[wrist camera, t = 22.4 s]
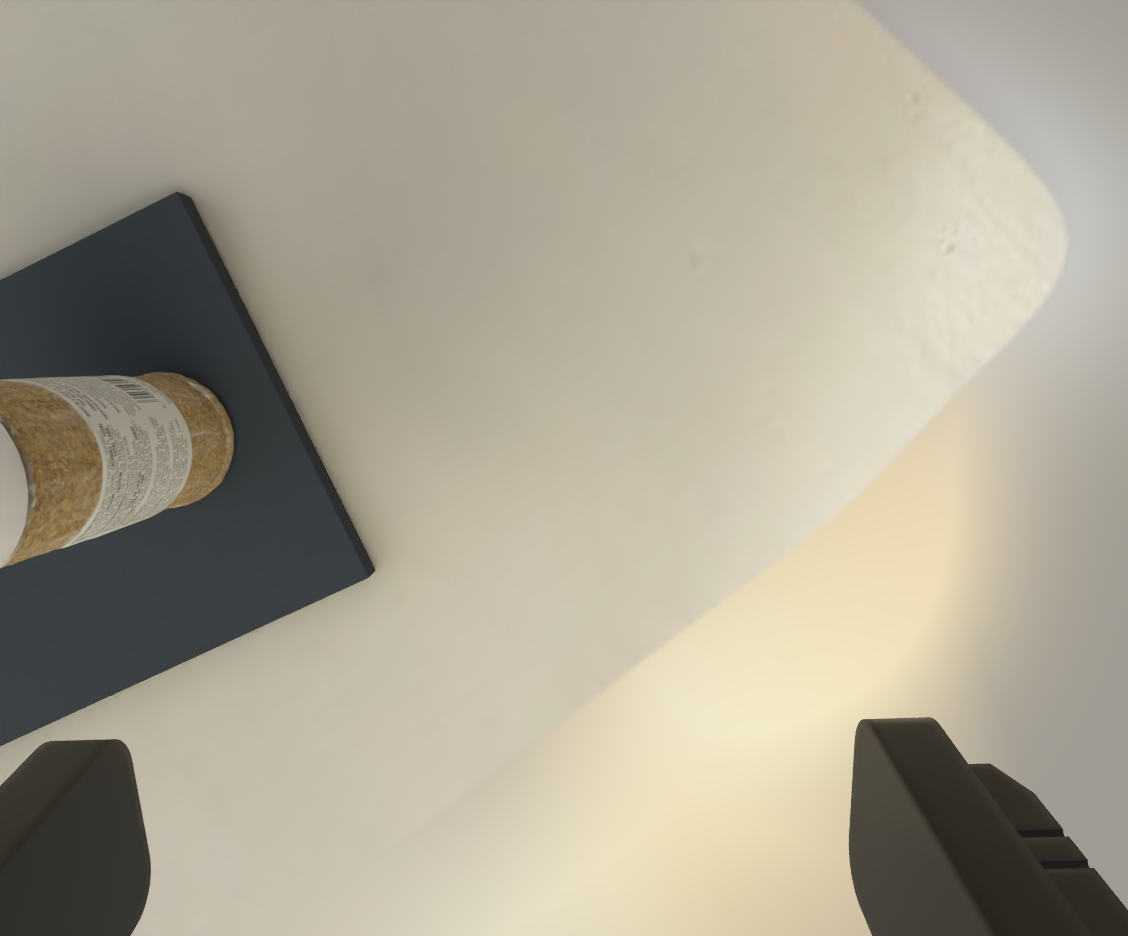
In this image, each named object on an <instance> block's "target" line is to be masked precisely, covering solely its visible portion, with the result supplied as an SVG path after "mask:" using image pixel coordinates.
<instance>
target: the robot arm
mask: <svg viewBox="0 0 1128 936" xmlns="http://www.w3.org/2000/svg"><path fill="white" fill-rule="evenodd" d="M854 746H855V747H854V762H853V780H852V796H851V813H850V830H849V857H850V867H851V874H852V879H853V884H854V888H855V893H856V896H857V899H858V902H859V905H860V908H861V910H862V912H863V915H864V917H865V919H866V922H867V924H868V927H869V929H870V931H871V934H872V936H1128V910H1127V909H1126V907H1125V906H1124V905H1123V904H1122V902H1121V901H1120V900H1119V899H1118V897H1117V896H1116V895H1115V894H1114V892H1113V891H1112V890H1111V889H1110V887H1109V886H1108V885H1107V884H1106V882H1105V881H1104V880H1103V879H1102V877H1101V876H1100V875H1099V874H1098V872H1097V871H1096V870H1095V869H1094V868H1089V866H1088V860H1087V859H1086V857H1085V856H1084V855H1083V854H1082V852H1081V851H1080V850H1079V849H1078V847H1077V846H1076V845H1075V844H1074V842H1073V841H1072V840H1071V839H1070V837H1065V836H1064V834H1063V829H1062V828H1061V826H1060V825H1059V824H1058V822H1057V821H1056V820H1055V819H1054V817H1053V816H1052V815H1051V814H1050V812H1049V811H1048V810H1047V809H1046V807H1045V806H1044V805H1043V804H1042V803H1041V801H1040V800H1039V799H1038V797H1037V796H1036V795H1035V794H1034V793H1033V792H1032V791H1030V790H1029V789H1027V788H1026V787H1024V786H1022V785H1021V784H1019V783H1018V782H1016V781H1015V780H1013V779H1012V778H1011V777H1009V776H1008V775H1006V774H1005V773H1003V772H1001V771H1000V770H999V769H997V768H996V767H994V766H993V765H991V764H968V763H967V762H966V760H965V759H964V758H963V756H962V755H961V753H960V752H959V751H958V749H957V748H956V747H955V745H954V744H953V742H952V741H951V740H950V738H949V737H948V736H947V734H946V733H945V731H944V730H943V729H942V727H941V726H940V725H939V723H938V722H937V721H936V720H935V719H933V718H930V717H926V718H895V719H894V718H893V719H863V720H861V721H860V722H859V724H858V726H857V729H856V735H855V745H854ZM150 876H151V862H150V854H149V849H148V844H147V838H146V833H145V827H144V822H143V817H142V811H141V806H140V800H139V795H138V789H137V784H136V779H135V773H134V768H133V762H132V758H131V754H130V752H129V749H128V748H127V746H126V745H125V744H124V743H123V742H122V741H120V740H116V739H111V740H77V741H50V742H46V743H44V744H42V745H41V746H39V747H38V748H37V749H36V750H35V751H34V752H33V753H32V754H31V755H30V756H29V757H28V758H27V759H26V760H25V761H24V762H23V763H22V764H21V765H20V766H19V767H18V768H17V769H16V771H15V772H14V773H13V774H12V775H11V776H10V777H9V778H8V779H7V780H6V781H5V782H4V783H3V784H2V785H1V786H0V936H130V935H131V934H132V932H133V930H134V929H135V927H136V925H137V923H138V922H139V920H140V918H141V915H142V913H143V910H144V907H145V904H146V901H147V897H148V892H149V886H150Z"/></svg>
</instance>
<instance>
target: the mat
mask: <svg viewBox="0 0 1128 936" xmlns="http://www.w3.org/2000/svg"><path fill="white" fill-rule="evenodd" d="M154 372H163V373H176V374H180V375H183V376H184V377H186V378H190V379H193V380H195V381H197V382H198V383H200V384H201V385H203V386H205V387H206V388H208V389H209V390H210V391H211V392H212V393H213V394H214V395H215V396H216V397H217V399H218V400H219V402H220V403H221V404H222V405H223V407H224V409H225V411H226V413H227V415H228V417H229V419H230V421H231V425H232V429H233V432H234V451H233V456H232V460H231V463H230V466H229V469H228V470H227V472H226V474H225V476H224V478H223V480H222V482H221V483H220V484H219V485H218V486H217V487H216V488H215V489H213V490H212V491H211V492H210V493H209V494H207V495H206V496H205V497H203V498H202V499H200V500H198V501H196V502H193V503H191V504H189V505H185V506H180V507H176V508H167V509H165V510H162V511H161V512H159V513H157V514H156V515H154V516H152V517H149V518H147V519H145V520H142V521H139V522H136V523H134V524H131V525H128V526H126V527H123V528H120V529H118V530H115V531H112V532H109V533H107V534H104V535H101V536H99V537H96V538H93V539H89V540H85V541H82V542H79V543H77V544H74V545H71V546H68V547H65V548H61V549H55V550H52V551H50V552H48V553H45V554H41V555H37V556H34V557H32V558H28V559H25V560H23V561H20V562H17V563H15V564H13V565H8V566H5V567H3V568H0V746H2V745H4V744H6V743H8V742H10V741H13V740H15V739H17V738H19V737H21V736H23V735H26V734H28V733H30V732H32V731H34V730H37V729H39V728H41V727H43V726H45V725H47V724H50V723H52V722H54V721H56V720H58V719H61V718H63V717H65V716H67V715H69V714H72V713H74V712H76V711H78V710H80V709H82V708H85V707H87V706H89V705H91V704H93V703H96V702H98V701H100V700H102V699H104V698H107V697H109V696H111V695H113V694H115V693H117V692H120V691H122V690H124V689H126V688H128V687H131V686H133V685H135V684H137V683H139V682H142V681H144V680H146V679H148V678H150V677H152V676H155V675H157V674H159V673H161V672H163V671H166V670H168V669H170V668H172V667H174V666H176V665H179V664H181V663H183V662H185V661H187V660H190V659H192V658H194V657H196V656H198V655H201V654H203V653H205V652H207V651H209V650H211V649H214V648H216V647H218V646H220V645H222V644H225V643H227V642H229V641H231V640H233V639H236V638H238V637H240V636H242V635H244V634H246V633H249V632H251V631H253V630H255V629H257V628H260V627H262V626H264V625H266V624H268V623H271V622H273V621H275V620H277V619H279V618H281V617H284V616H286V615H288V614H290V613H292V612H295V611H297V610H299V609H301V608H303V607H305V606H308V605H310V604H312V603H314V602H316V601H319V600H321V599H323V598H325V597H327V596H330V595H332V594H334V593H336V592H338V591H340V590H343V589H345V588H347V587H349V586H351V585H354V584H356V583H358V582H360V581H362V580H365V579H367V578H369V577H370V576H371V575H372V574H373V573H374V572H375V569H374V567H373V565H372V563H371V561H370V559H369V557H368V555H367V553H366V551H365V548H364V546H363V544H362V542H361V540H360V538H359V536H358V534H357V532H356V530H355V528H354V526H353V524H352V522H351V520H350V518H349V516H348V514H347V512H346V510H345V508H344V506H343V504H342V502H341V500H340V498H339V496H338V494H337V492H336V490H335V488H334V486H333V484H332V482H331V480H330V478H329V476H328V474H327V472H326V470H325V468H324V466H323V464H322V462H321V460H320V458H319V456H318V454H317V452H316V450H315V448H314V446H313V444H312V442H311V440H310V438H309V436H308V434H307V431H306V429H305V427H304V425H303V423H302V421H301V419H300V417H299V415H298V413H297V411H296V409H295V407H294V405H293V403H292V401H291V399H290V397H289V395H288V393H287V391H286V389H285V387H284V385H283V383H282V381H281V379H280V377H279V375H278V373H277V371H276V369H275V367H274V365H273V363H272V361H271V359H270V357H269V355H268V353H267V351H266V349H265V347H264V345H263V343H262V341H261V339H260V337H259V335H258V333H257V331H256V329H255V327H254V325H253V323H252V321H251V319H250V316H249V314H248V312H247V310H246V308H245V306H244V304H243V302H242V300H241V298H240V296H239V294H238V292H237V290H236V288H235V286H234V284H233V282H232V280H231V278H230V276H229V274H228V272H227V270H226V268H225V266H224V264H223V262H222V260H221V258H220V256H219V254H218V252H217V250H216V248H215V246H214V244H213V242H212V240H211V238H210V236H209V234H208V232H207V230H206V228H205V226H204V224H203V222H202V220H201V218H200V216H199V214H198V212H197V210H196V208H195V206H194V204H193V202H192V199H191V198H190V197H189V196H187V195H184V194H182V193H179V192H175V193H173V194H171V195H169V196H167V197H165V198H163V199H161V200H159V201H157V202H155V203H153V204H151V205H150V206H148V207H146V208H144V209H142V210H140V211H138V212H136V213H134V214H132V215H130V216H128V217H126V218H124V219H122V220H120V221H118V222H116V223H114V224H112V225H110V226H108V227H106V228H104V229H102V230H100V231H98V232H96V233H94V234H92V235H90V236H88V237H86V238H84V239H82V240H80V241H78V242H76V243H74V244H72V245H70V246H68V247H66V248H64V249H62V250H60V251H58V252H56V253H54V254H52V255H50V256H48V257H46V258H44V259H42V260H40V261H38V262H36V263H34V264H32V265H30V266H28V267H26V268H24V269H22V270H20V271H18V272H16V273H14V274H12V275H10V276H8V277H6V278H4V279H2V280H0V380H6V379H28V378H46V377H81V376H108V375H118V376H127V377H138V376H141V375H144V374H148V373H154Z"/></svg>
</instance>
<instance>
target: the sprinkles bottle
mask: <svg viewBox="0 0 1128 936" xmlns="http://www.w3.org/2000/svg"><path fill="white" fill-rule="evenodd" d="M233 451H234V432H233V429H232V425H231V421H230V419H229V417H228V415H227V413H226V411H225V409H224V407H223V405H222V404H221V403H220V402H219V400H218V399H217V397H216V396H215V395H214V394H213V393H212V392H211V391H210V390H209V389H208V388H206V387H205V386H203V385H201V384H200V383H198V382H197V381H195V380H193V379H190V378H186V377H184V376H183V375H180V374H176V373H163V372H154V373H148V374H144V375H141V376H138V377H127V376H118V375H108V376H81V377H46V378H28V379H6V380H0V568H3V567H5V566H8V565H13V564H15V563H17V562H20V561H23V560H25V559H28V558H32V557H34V556H37V555H41V554H45V553H48V552H50V551H52V550H55V549H61V548H65V547H68V546H71V545H74V544H77V543H79V542H82V541H85V540H89V539H93V538H96V537H99V536H101V535H104V534H107V533H109V532H112V531H115V530H118V529H120V528H123V527H126V526H128V525H131V524H134V523H136V522H139V521H142V520H145V519H147V518H149V517H152V516H154V515H156V514H157V513H159V512H161V511H162V510H165V509H167V508H176V507H180V506H185V505H189V504H191V503H193V502H196V501H198V500H200V499H202V498H203V497H205V496H206V495H207V494H209V493H210V492H211V491H212V490H213V489H215V488H216V487H217V486H218V485H219V484H220V483H221V482H222V480H223V478H224V476H225V474H226V472H227V470H228V469H229V466H230V463H231V460H232V456H233Z"/></svg>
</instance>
